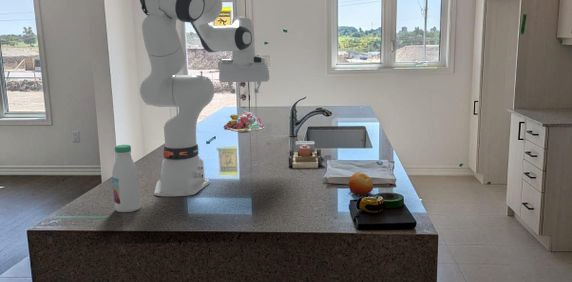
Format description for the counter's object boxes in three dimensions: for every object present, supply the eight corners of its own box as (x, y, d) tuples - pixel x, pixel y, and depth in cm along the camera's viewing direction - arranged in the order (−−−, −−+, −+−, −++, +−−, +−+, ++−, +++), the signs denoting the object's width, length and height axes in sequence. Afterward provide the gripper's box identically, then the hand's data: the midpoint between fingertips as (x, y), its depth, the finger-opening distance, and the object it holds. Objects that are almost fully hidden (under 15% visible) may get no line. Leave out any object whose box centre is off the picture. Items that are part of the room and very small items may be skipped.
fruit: (351, 184, 175) (362, 166, 171) (369, 199, 171) (380, 181, 167) (338, 190, 168) (349, 171, 164) (356, 205, 165) (367, 187, 161)
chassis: (322, 167, 203) (321, 150, 201) (288, 168, 203) (288, 151, 202) (320, 156, 222) (320, 140, 221) (290, 156, 223) (289, 141, 222)
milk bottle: (143, 204, 163) (138, 142, 159) (137, 212, 155) (132, 148, 151) (119, 205, 163) (113, 143, 159) (112, 213, 155) (105, 148, 151)
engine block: (309, 160, 207) (309, 146, 206) (299, 160, 207) (299, 146, 206) (309, 157, 212) (309, 143, 211) (300, 157, 212) (299, 144, 211)
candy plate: (216, 128, 300) (215, 112, 298) (247, 123, 316) (247, 108, 314) (243, 133, 282) (242, 116, 280) (274, 127, 298) (274, 111, 296)
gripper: (216, 59, 203) (218, 94, 205) (268, 58, 202) (269, 93, 205) (219, 59, 209) (220, 92, 211) (269, 57, 208) (270, 91, 211)
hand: (245, 93), depth 208 cm, fingers open, 8 cm apart
